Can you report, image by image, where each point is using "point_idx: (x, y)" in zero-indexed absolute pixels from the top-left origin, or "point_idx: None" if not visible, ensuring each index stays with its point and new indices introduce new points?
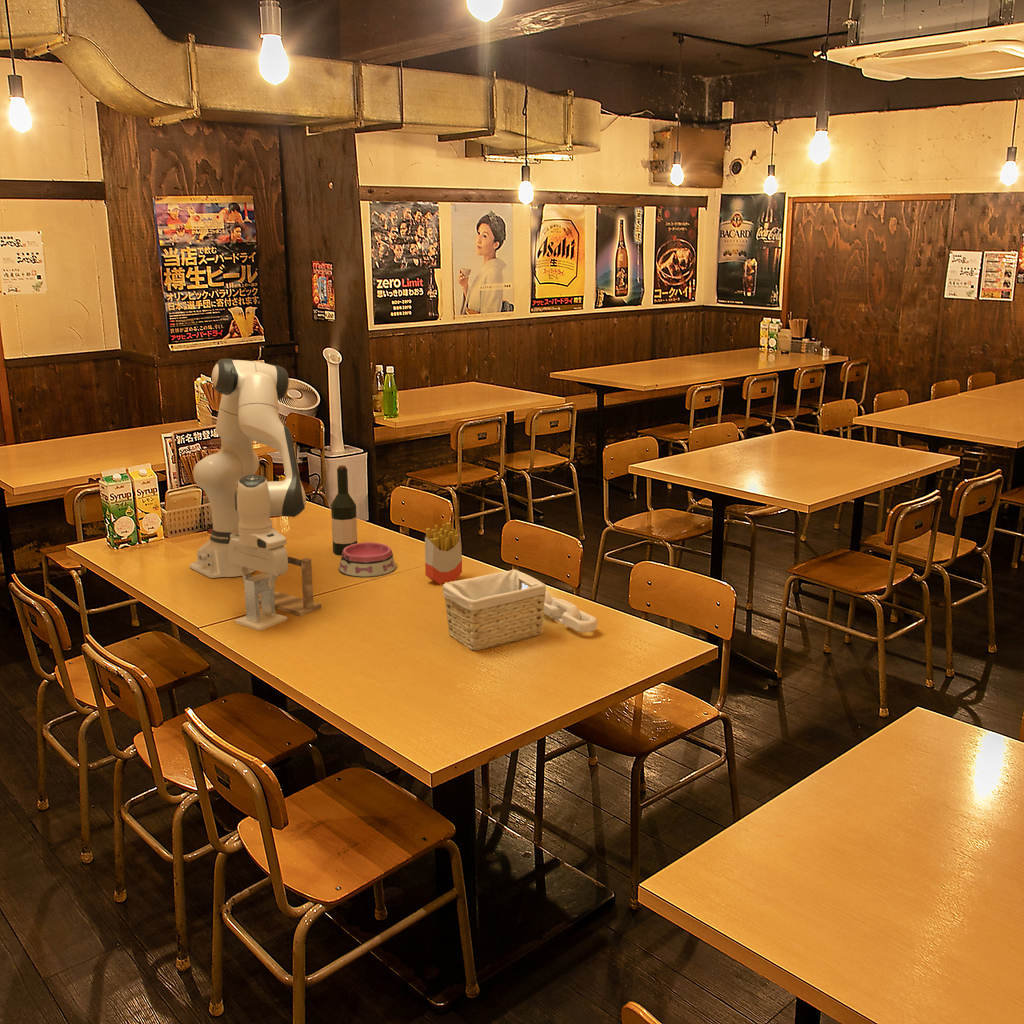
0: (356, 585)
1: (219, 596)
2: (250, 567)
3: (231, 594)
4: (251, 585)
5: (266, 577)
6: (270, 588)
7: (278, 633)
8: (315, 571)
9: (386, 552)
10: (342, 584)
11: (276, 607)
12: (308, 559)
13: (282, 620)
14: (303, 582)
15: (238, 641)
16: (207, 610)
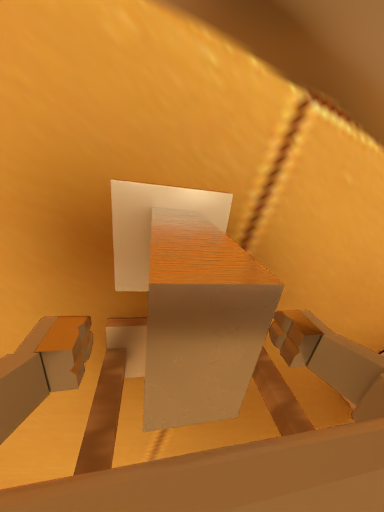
0: (150, 448)
1: (352, 296)
2: (310, 459)
3: (334, 315)
4: (181, 263)
5: (147, 394)
6: (51, 317)
7: (38, 194)
8: (253, 436)
9: None
10: (175, 438)
11: None
12: None
13: (115, 272)
14: (105, 436)
15: (88, 36)
16: (343, 224)
